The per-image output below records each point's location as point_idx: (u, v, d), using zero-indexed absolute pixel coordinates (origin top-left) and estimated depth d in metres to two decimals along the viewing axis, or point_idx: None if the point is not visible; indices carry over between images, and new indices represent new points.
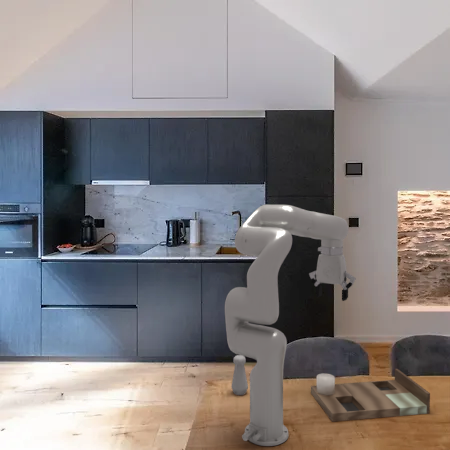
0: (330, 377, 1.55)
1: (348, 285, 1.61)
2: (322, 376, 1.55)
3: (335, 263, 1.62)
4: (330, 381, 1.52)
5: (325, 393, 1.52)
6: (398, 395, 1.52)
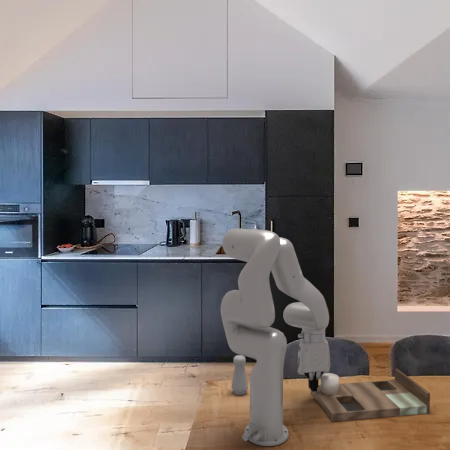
0: (335, 376, 1.55)
1: None
2: (326, 376, 1.56)
3: (323, 350, 1.51)
4: (334, 381, 1.52)
5: (330, 393, 1.53)
6: (398, 395, 1.52)
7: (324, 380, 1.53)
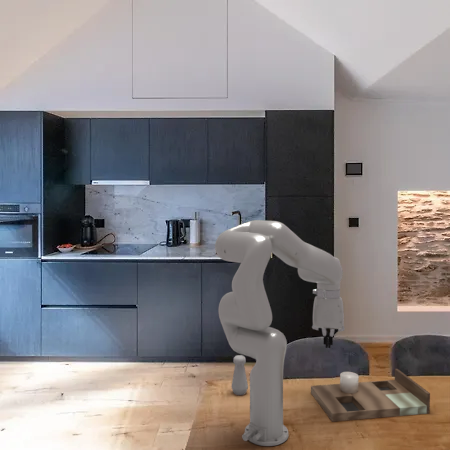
0: (354, 375, 1.56)
1: (334, 331, 1.55)
2: (346, 374, 1.57)
3: (335, 307, 1.52)
4: (354, 380, 1.54)
5: (350, 391, 1.54)
6: (398, 395, 1.52)
7: (344, 379, 1.54)
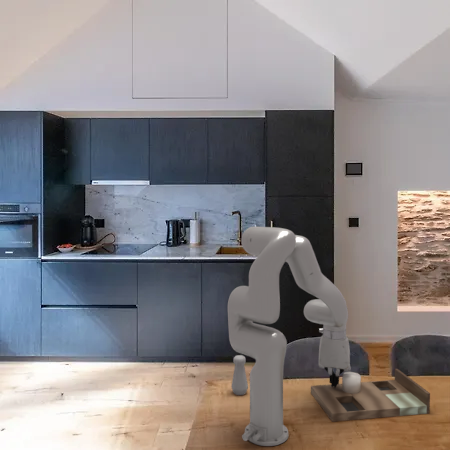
0: (356, 375, 1.56)
1: (340, 371, 1.56)
2: (348, 374, 1.56)
3: (340, 347, 1.53)
4: (357, 380, 1.53)
5: (352, 392, 1.53)
6: (398, 395, 1.52)
7: (346, 379, 1.54)
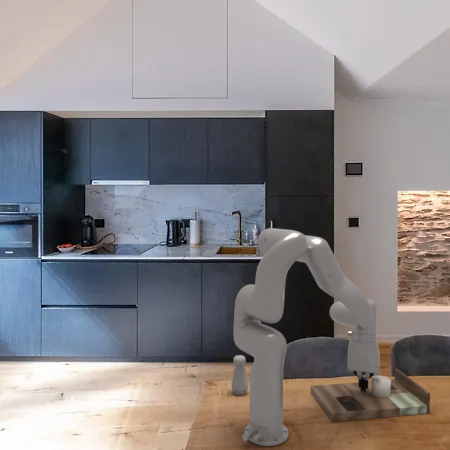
0: (386, 379, 1.53)
1: (370, 375, 1.52)
2: (377, 378, 1.53)
3: (371, 351, 1.50)
4: (387, 384, 1.50)
5: (383, 396, 1.50)
6: (398, 395, 1.52)
7: (376, 383, 1.51)
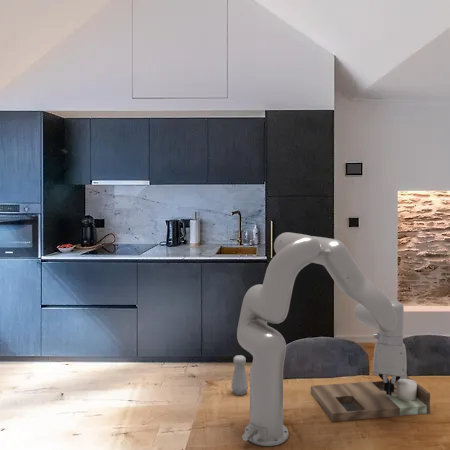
0: (412, 382, 1.50)
1: (396, 378, 1.49)
2: (403, 381, 1.51)
3: (398, 354, 1.47)
4: (413, 387, 1.47)
5: (409, 399, 1.48)
6: None
7: (402, 386, 1.48)
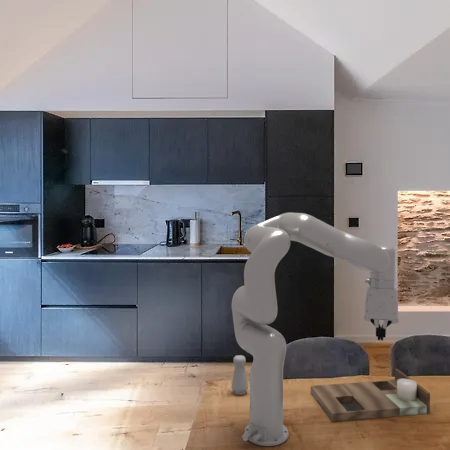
0: (412, 382, 1.50)
1: (388, 323, 1.49)
2: (403, 381, 1.51)
3: (389, 297, 1.46)
4: (413, 387, 1.47)
5: (409, 399, 1.48)
6: None
7: (402, 386, 1.48)
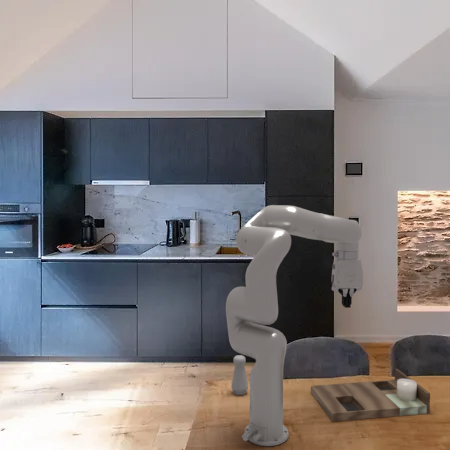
0: (412, 382, 1.50)
1: None
2: (403, 381, 1.51)
3: (356, 267, 1.59)
4: (413, 387, 1.47)
5: (409, 399, 1.48)
6: None
7: (402, 386, 1.48)
